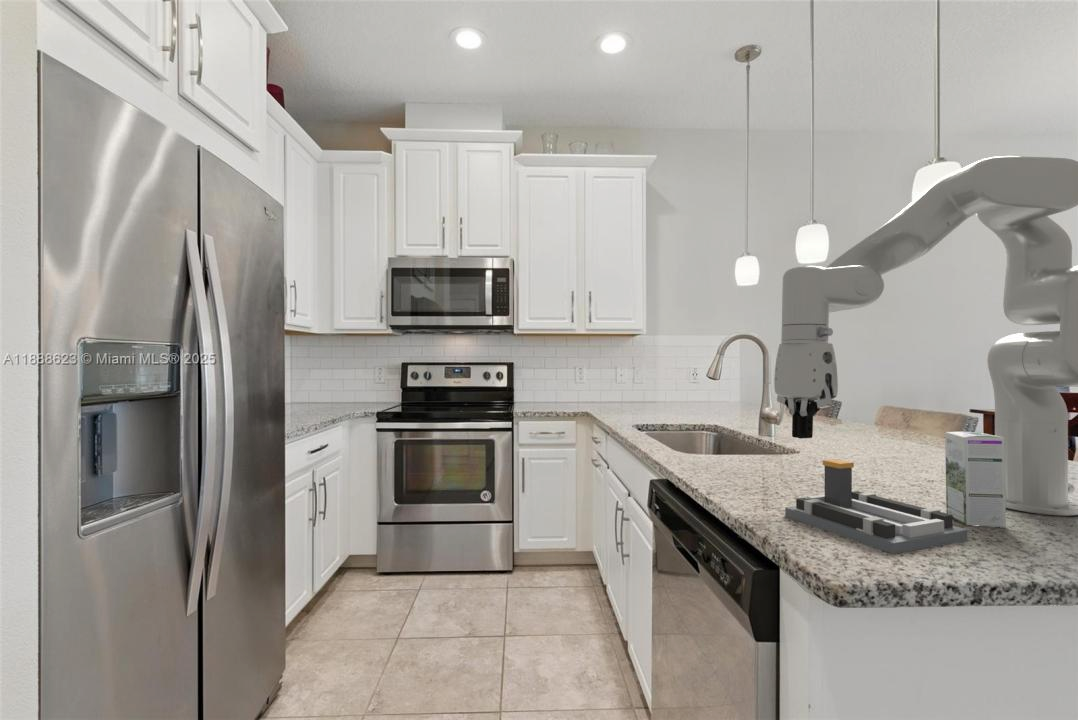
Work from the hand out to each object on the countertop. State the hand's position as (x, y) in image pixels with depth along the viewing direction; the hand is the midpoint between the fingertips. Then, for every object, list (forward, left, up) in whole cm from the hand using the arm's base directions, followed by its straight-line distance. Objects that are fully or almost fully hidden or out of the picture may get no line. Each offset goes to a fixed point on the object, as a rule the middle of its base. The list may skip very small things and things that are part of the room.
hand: (802, 437), depth 91 cm
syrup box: (-20, +16, -13) cm, 28 cm away
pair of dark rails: (-1, +12, -11) cm, 16 cm away
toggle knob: (-1, +7, -11) cm, 13 cm away
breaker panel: (-1, +12, -13) cm, 17 cm away
